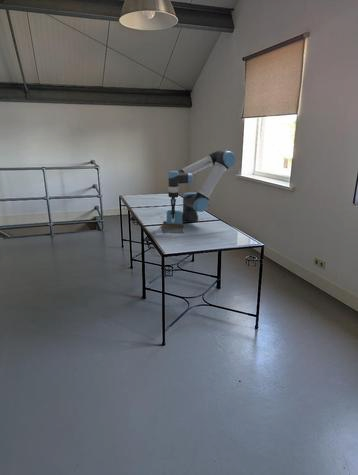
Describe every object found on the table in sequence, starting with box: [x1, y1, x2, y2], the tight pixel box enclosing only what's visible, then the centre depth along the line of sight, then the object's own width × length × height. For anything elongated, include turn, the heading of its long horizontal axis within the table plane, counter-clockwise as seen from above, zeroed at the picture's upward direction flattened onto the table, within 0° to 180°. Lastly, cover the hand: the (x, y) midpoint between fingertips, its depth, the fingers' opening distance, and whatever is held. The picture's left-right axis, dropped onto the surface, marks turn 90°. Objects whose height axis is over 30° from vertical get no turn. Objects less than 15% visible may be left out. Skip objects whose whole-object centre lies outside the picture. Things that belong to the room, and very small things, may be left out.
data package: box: [166, 209, 183, 224], centre depth 258 cm, size 12×4×12 cm, turn 91°
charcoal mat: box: [161, 227, 184, 234], centre depth 249 cm, size 11×16×1 cm
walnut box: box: [161, 220, 184, 229], centre depth 260 cm, size 9×16×3 cm, turn 91°
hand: (173, 221), depth 259 cm, fingers closed on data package, 4 cm apart
